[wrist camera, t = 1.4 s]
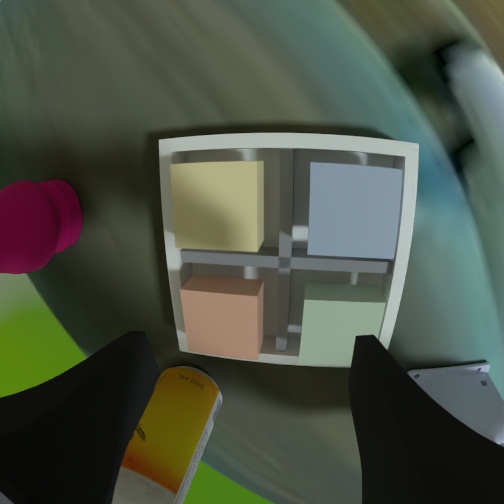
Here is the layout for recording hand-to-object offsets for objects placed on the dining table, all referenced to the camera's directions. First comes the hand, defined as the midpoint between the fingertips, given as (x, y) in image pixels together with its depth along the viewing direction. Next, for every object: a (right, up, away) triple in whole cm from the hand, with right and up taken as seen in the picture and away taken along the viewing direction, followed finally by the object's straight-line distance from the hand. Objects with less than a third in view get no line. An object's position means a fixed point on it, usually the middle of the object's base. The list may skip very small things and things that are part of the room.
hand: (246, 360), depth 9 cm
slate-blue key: (+5, +6, +6) cm, 10 cm away
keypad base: (+2, +4, +9) cm, 10 cm away
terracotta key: (-1, 0, +9) cm, 10 cm away
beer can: (-5, -9, +15) cm, 18 cm away
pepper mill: (-17, +7, +12) cm, 22 cm away
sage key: (+6, 0, +8) cm, 10 cm away
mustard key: (-1, +7, +7) cm, 10 cm away
